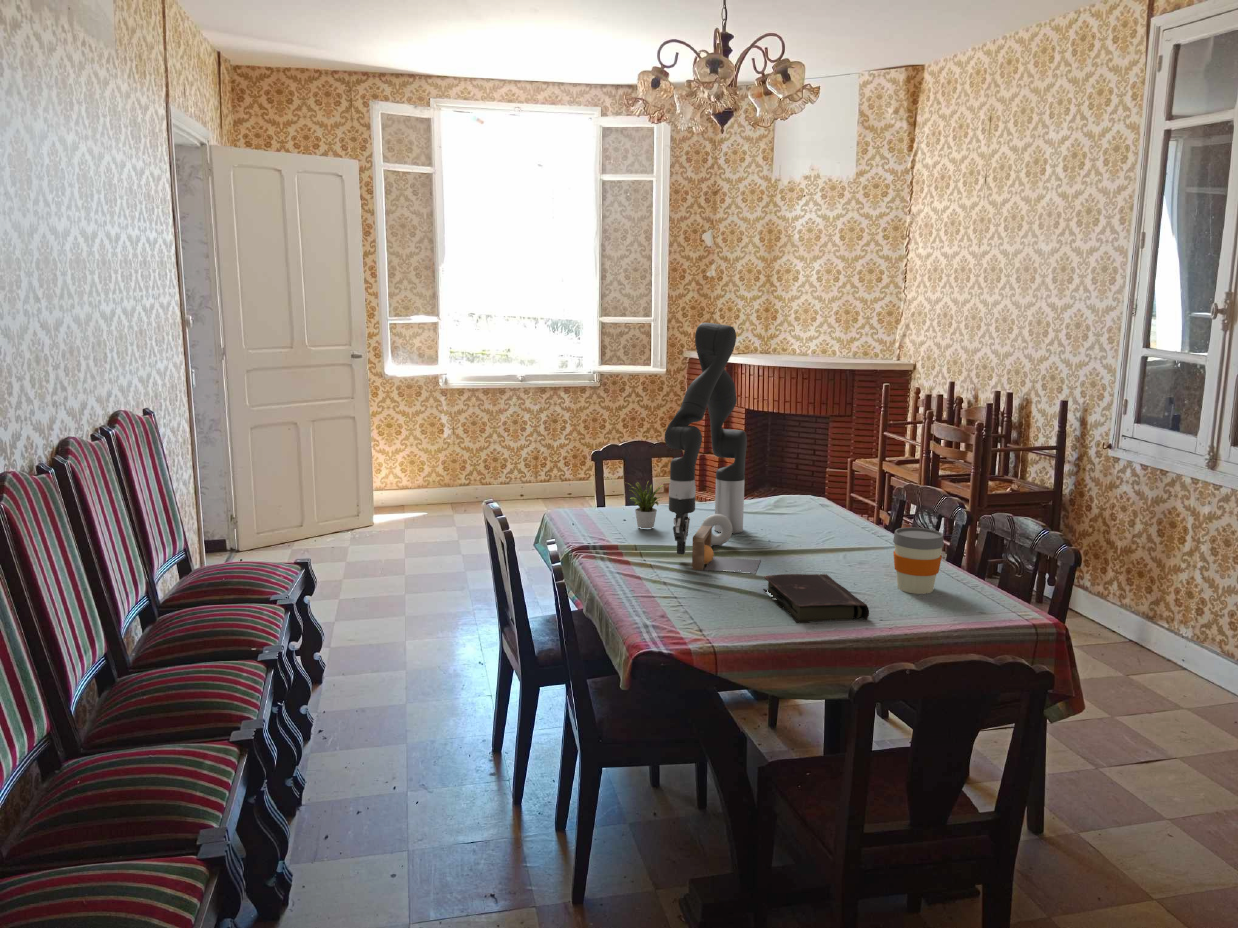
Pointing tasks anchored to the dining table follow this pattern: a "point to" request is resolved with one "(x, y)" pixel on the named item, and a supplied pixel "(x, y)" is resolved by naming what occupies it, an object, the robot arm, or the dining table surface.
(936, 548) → the reusable coffee cup
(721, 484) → the robot arm
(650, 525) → the house plant
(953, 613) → the dining table surface
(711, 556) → the ball
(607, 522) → the dining table surface
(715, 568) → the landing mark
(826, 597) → the diary
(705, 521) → the donut
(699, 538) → the bridge
